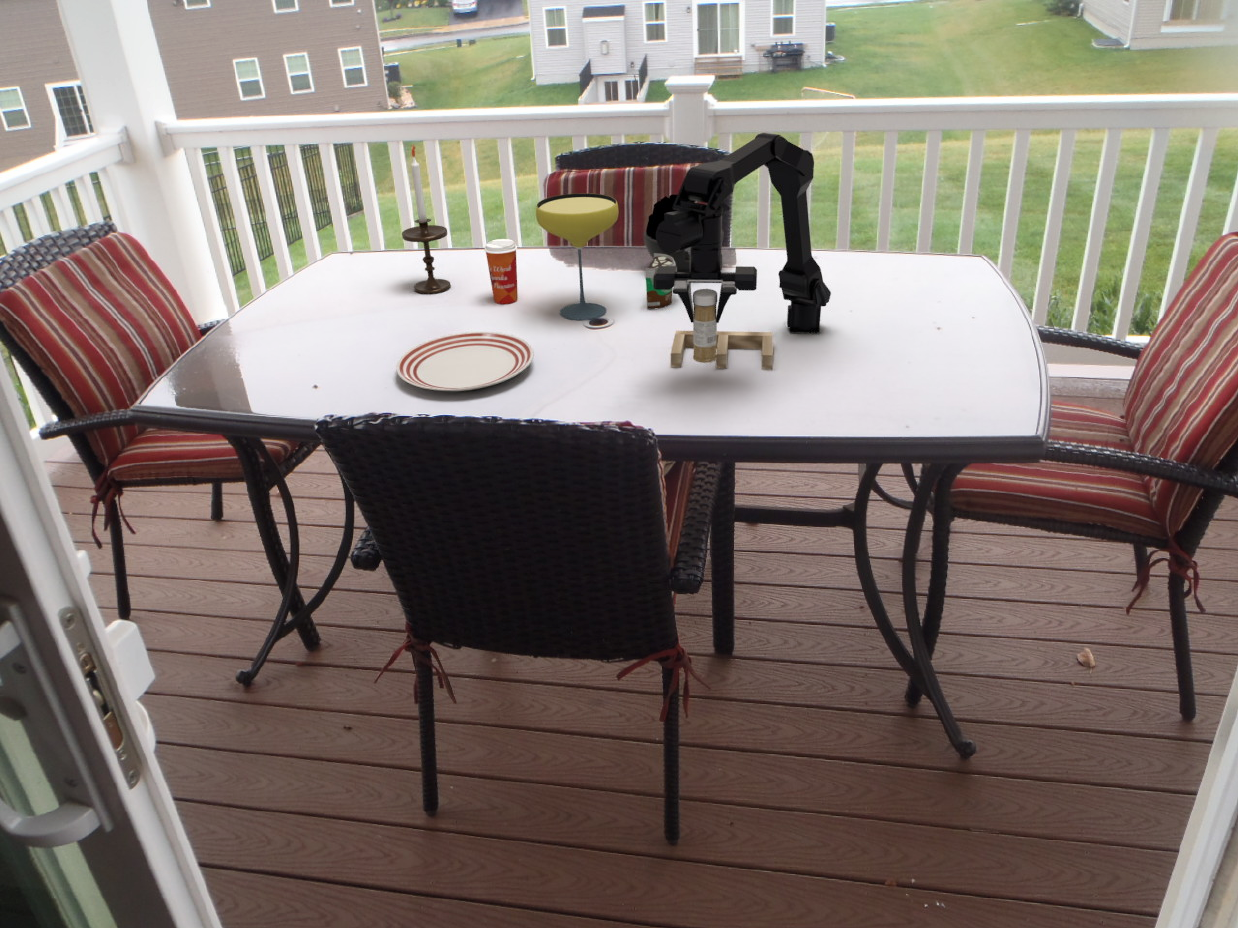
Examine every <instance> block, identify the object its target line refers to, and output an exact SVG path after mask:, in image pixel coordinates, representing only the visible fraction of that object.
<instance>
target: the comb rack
mask: <svg viewBox="0 0 1238 928" xmlns="http://www.w3.org/2000/svg"><path fill="white" fill-rule="evenodd" d="M773 336H774V335H773V331H770V332H769V331H727V330H726V331H724V330H723V331H722V330H721V331H720V330H719V331H718V330H717V337H716V359H715V368H716V369H727V362H728V353H729V349H731V350H737V349H738V350H761V370H773V361H774V359H773V358H774V357H773V356H774V352H773V349H774V348H773V346H774V345H773V344H774V343H773ZM685 349H694V343H693V330H675V333H674V338H673V343H672V346H671V351H670V368H682V363H683V359H684V353H685Z"/></svg>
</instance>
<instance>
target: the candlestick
mask: <svg viewBox="0 0 1238 928" xmlns="http://www.w3.org/2000/svg"><path fill="white" fill-rule="evenodd" d="M415 149H416V146H415V144H414V143H413V144H412V149H411V156H412V163H410V168H411V175H412V180H413V181H412V183H413V188H414V194H415V202H416V203H415V204H416V210H417V215H418V218H417V219H416V220H414V222H415V223H416V224H418V226H413V227H409V228H407V229H405V230H403V231H402V233H401V236H402V237H401V238H402V240H404V241H406V242H411V243H423V250H424V257H423V258H422V261H423V263H424V264H425V268H424V271H427V276H428V277H427V279H425V280H421V281H418V282H416V283H415V284H414V286H413V289H414V292H415V293H417V294H420V295H436V294H442V293H445V292H448V291H449V290H450V289H451V287H452V286H451V282H450V281H449V280H447V279H442V278H441V279H440V278H436V277H435V276H434V270H435V269H436V268H435V266H433V263H434V261H435V257H434V256H432V255H431V249H430V248H431V247H430V242H434V241H438V240H441V239H443V238H445V237H447V236H448V228H447V227H445V226H442V225H438V224H437V225H434V224H433V225H430V224H428V223H430V222H432V219H431V218H427V212H426V205H425V197H424V191H423V185H422V184H423V183H422V177H421V176H422V175H421V169H420V163H419V162H417V160H416V157H415V156H416V150H415Z"/></svg>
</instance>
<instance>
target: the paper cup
mask: <svg viewBox="0 0 1238 928" xmlns="http://www.w3.org/2000/svg"><path fill="white" fill-rule="evenodd" d="M484 247H485V248H484V249H483V250H484V251H483V252H485V254H486V260H487V266H488V272H489V277H490V278H489V280H490V285H491V290H492V295H493V300H494V302H495V304H497V305H511V304H513V303H516V302H517V301H518V295H519V294H518V272H517V271H518V270H517V268H518V267H517V265H518V264H517V250H518V246H517V244H516V243H515V241H514V240H512V239H508V238H498V239H493V240H490V241H489V242H487V243H485V246H484Z"/></svg>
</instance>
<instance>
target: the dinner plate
mask: <svg viewBox="0 0 1238 928" xmlns="http://www.w3.org/2000/svg"><path fill="white" fill-rule="evenodd" d="M534 355H535V354H534V349H533V347H532V345H531V344H530V343H529V342H528V341H527V340H525V339H524V338H521V337H519V336H516V335H513V334H509V333H503V332H497V331H467V332H460V333H459V332H458V333H452V334H447V335H443V336H440V337H435V338H432V339H429V340H427V341H424V342H422V343H419V344H417V345H415V346H414V347H412V348H411V349H409V350H408V351H406V352H405V353H404V354H403V355H401V357H400V358H399V360H398V361H397V363H396V373H397V375H398V376H399V378H400V379H401V380H403V381H404V382H405V383H407V384H409V385H412V386H414V387H418V388H421V389H424V390H425V389H426V390H433V391H440V392H441V391H442V392H463V391H464V392H465V391H472V390H478V389H483V388H487V387H490V386H495V385H497V384H500V383H503V382H506V381H507V380H510V379H512V378H513V377H515V376H517V375H519V374H520V373H522V372H523V371H524V370H526V369H527V368H528V367H529V365H531V363H532V361H533V359H534Z"/></svg>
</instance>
